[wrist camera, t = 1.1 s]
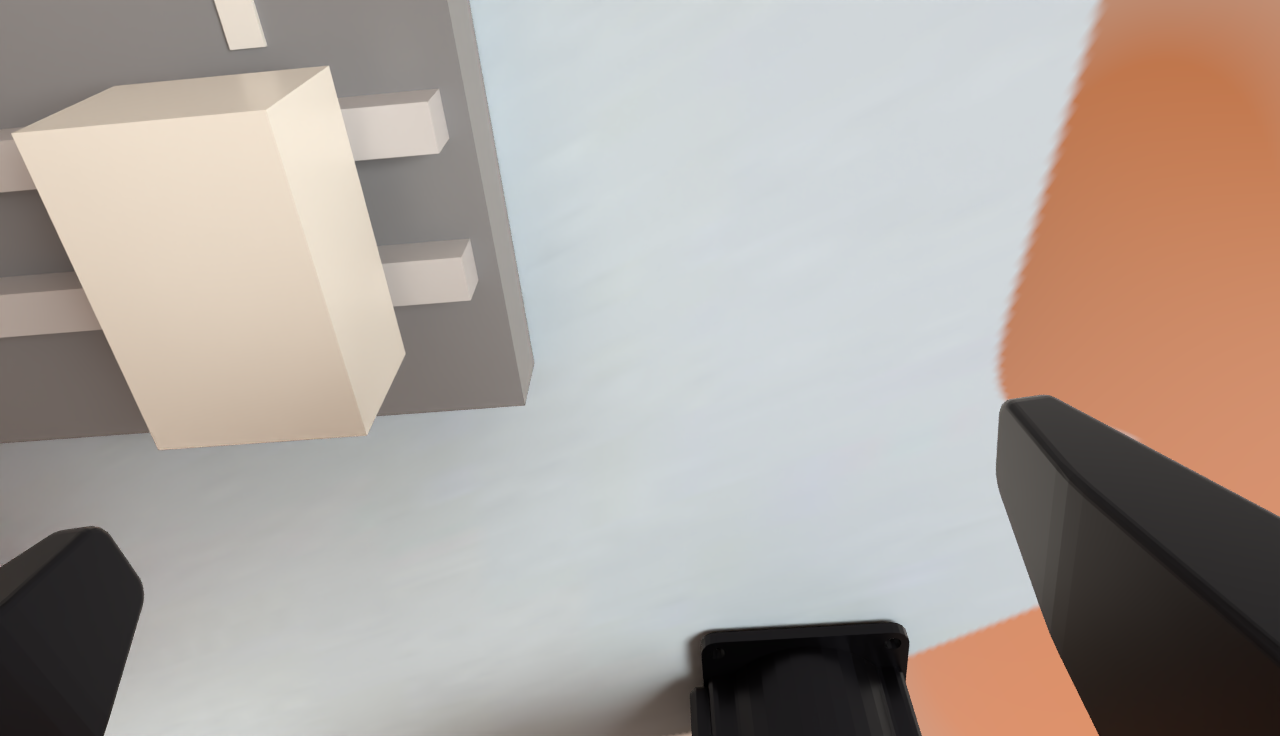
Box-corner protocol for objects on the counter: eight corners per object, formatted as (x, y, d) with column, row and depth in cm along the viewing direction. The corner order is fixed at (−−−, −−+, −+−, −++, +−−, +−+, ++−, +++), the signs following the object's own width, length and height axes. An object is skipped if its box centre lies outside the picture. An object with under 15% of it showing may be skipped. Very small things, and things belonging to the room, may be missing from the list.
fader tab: (348, 51, 17) (265, 109, 13) (418, 327, 20) (367, 435, 16) (146, 71, 17) (11, 133, 13) (247, 340, 20) (158, 450, 16)
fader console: (448, -114, 17) (413, -106, 15) (534, 363, 23) (519, 429, 20) (-488, -15, 18) (-672, 9, 16) (-186, 417, 24) (-286, 485, 22)
